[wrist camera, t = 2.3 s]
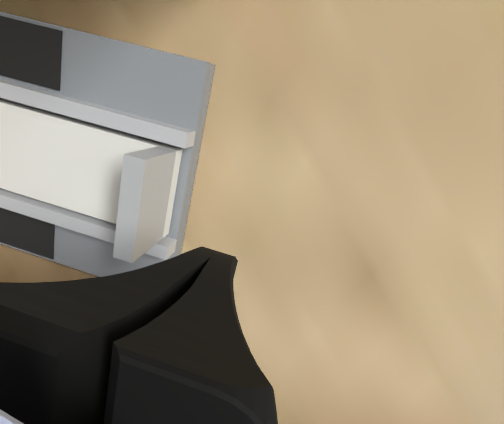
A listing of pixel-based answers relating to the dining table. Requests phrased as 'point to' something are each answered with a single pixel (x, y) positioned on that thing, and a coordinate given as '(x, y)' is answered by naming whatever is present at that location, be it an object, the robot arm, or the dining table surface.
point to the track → (103, 115)
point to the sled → (91, 173)
